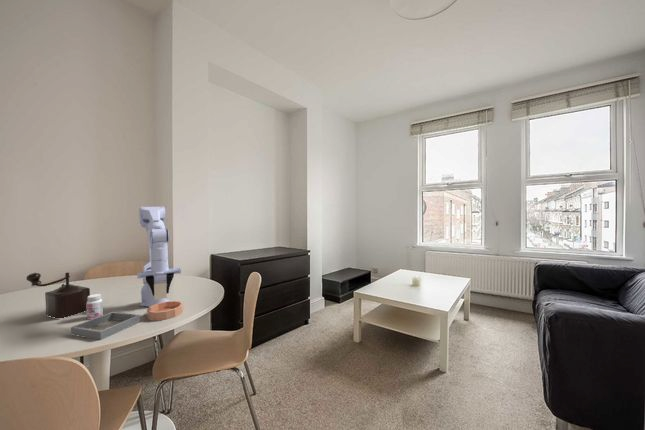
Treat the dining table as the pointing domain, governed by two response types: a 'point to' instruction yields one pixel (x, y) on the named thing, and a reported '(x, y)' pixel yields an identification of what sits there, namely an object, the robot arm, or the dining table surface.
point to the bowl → (165, 310)
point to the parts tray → (97, 334)
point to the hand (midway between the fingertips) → (160, 293)
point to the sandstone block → (160, 289)
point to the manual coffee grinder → (63, 297)
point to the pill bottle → (94, 306)
